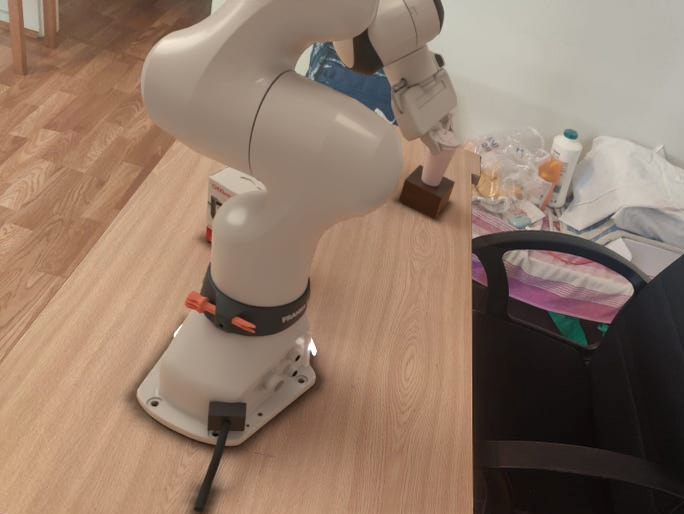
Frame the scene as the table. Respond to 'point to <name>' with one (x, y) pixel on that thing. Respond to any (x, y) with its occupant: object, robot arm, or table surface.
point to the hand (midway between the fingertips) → (445, 146)
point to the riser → (425, 193)
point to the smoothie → (440, 155)
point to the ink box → (226, 191)
